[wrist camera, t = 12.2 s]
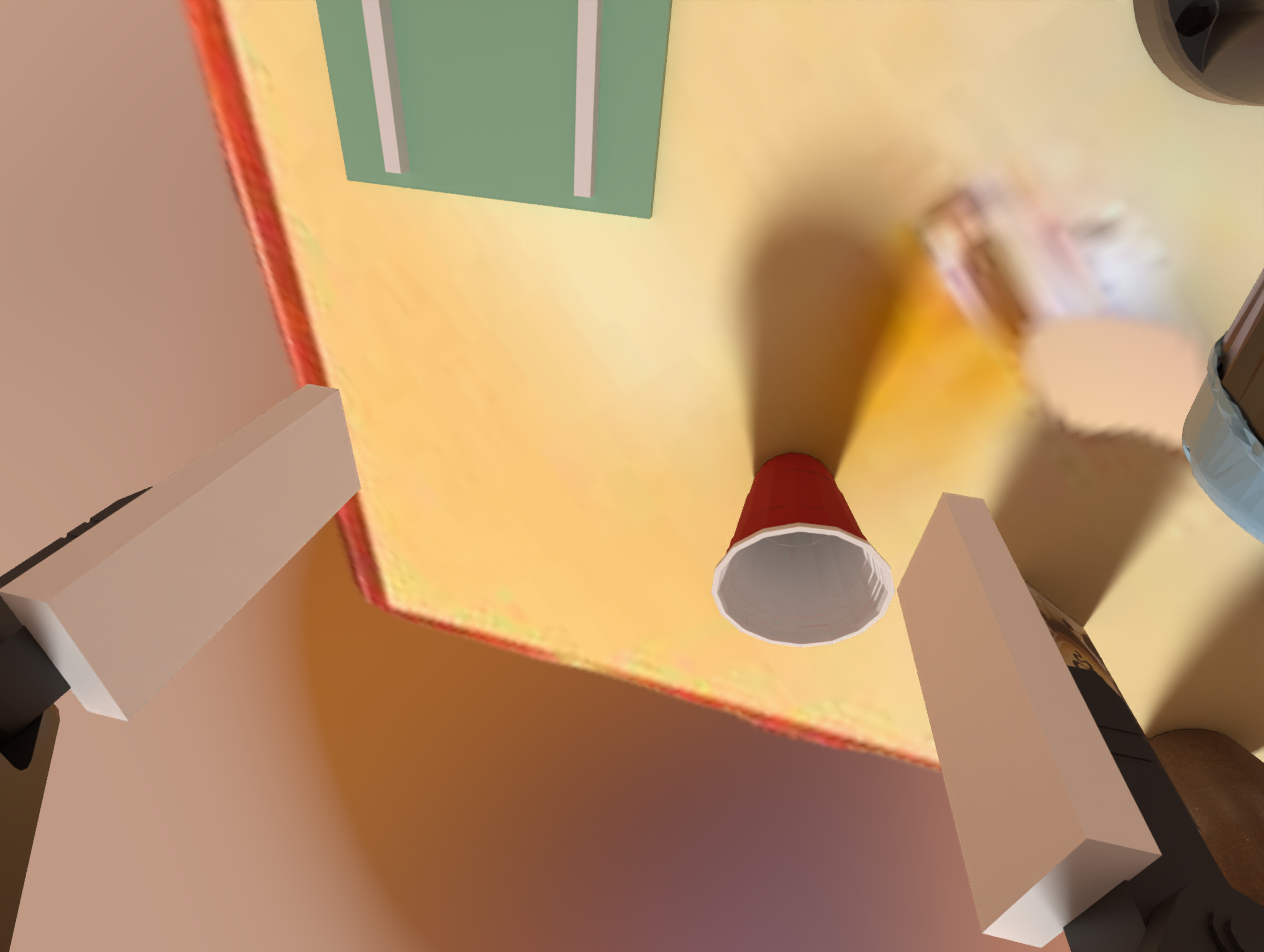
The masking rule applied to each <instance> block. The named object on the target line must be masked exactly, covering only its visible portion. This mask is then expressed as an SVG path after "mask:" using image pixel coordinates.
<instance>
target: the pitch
mask: <svg viewBox="0 0 1264 952" xmlns="http://www.w3.org/2000/svg"><path fill="white" fill-rule="evenodd" d="M316 3H317V9H318V14H319V20H320V26H321V31H322V37H323V43H324V49H325V54H326V60H327V66H328V72H329V77H330V83H331V89H332V94H333V100H334V106H335V112H336V117H337V123H338V129H339V135H340V140H341V146H342V152H343V157H344V163H345V169H346V175H347V180H350V181H358V182H366V183H373V184H381V185H389V186H397V187H405V188H412V189H420V190H428V191H436V192H444V193H451V194H459V195H467V196H475V197H482V198H490V199H498V200H506V201H514V202H521V203H529V204H537V205H545V206H553V207H560V208H568V209H576V210H584V211H591V212H599V213H607V214H615V215H623V216H630V217H638V218H646V219H650V218H651V217H652V210H653V200H654V189H655V178H656V168H657V157H658V146H659V136H660V125H661V114H662V104H663V93H664V82H665V72H666V61H667V50H668V40H669V29H670V18H671V8H672V0H316Z"/></svg>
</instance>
